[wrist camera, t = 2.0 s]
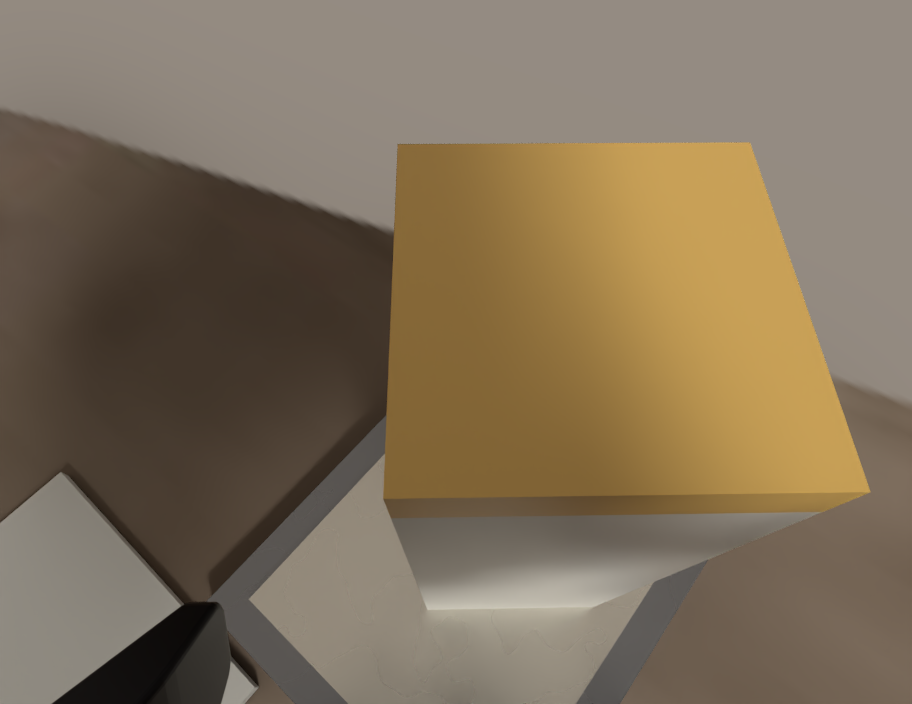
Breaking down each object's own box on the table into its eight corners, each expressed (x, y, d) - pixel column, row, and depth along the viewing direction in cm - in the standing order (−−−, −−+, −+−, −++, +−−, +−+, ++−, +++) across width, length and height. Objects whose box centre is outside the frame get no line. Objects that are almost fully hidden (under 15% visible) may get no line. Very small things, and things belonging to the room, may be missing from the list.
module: (593, 606, 16) (870, 492, 5) (427, 609, 16) (382, 499, 5) (575, 447, 18) (750, 142, 8) (428, 449, 18) (397, 143, 8)
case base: (487, 903, 14) (490, 919, 13) (214, 606, 17) (201, 603, 16) (714, 536, 18) (728, 529, 17) (461, 348, 21) (461, 333, 20)
